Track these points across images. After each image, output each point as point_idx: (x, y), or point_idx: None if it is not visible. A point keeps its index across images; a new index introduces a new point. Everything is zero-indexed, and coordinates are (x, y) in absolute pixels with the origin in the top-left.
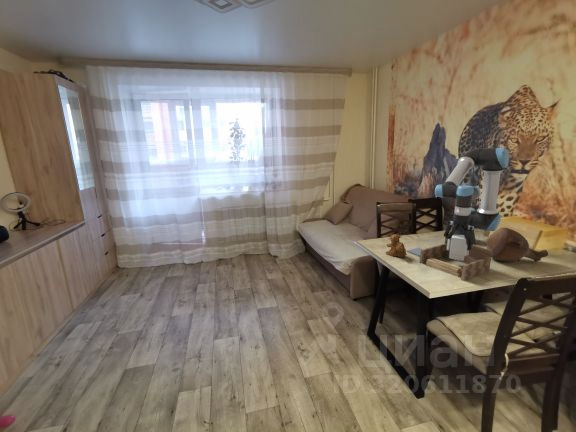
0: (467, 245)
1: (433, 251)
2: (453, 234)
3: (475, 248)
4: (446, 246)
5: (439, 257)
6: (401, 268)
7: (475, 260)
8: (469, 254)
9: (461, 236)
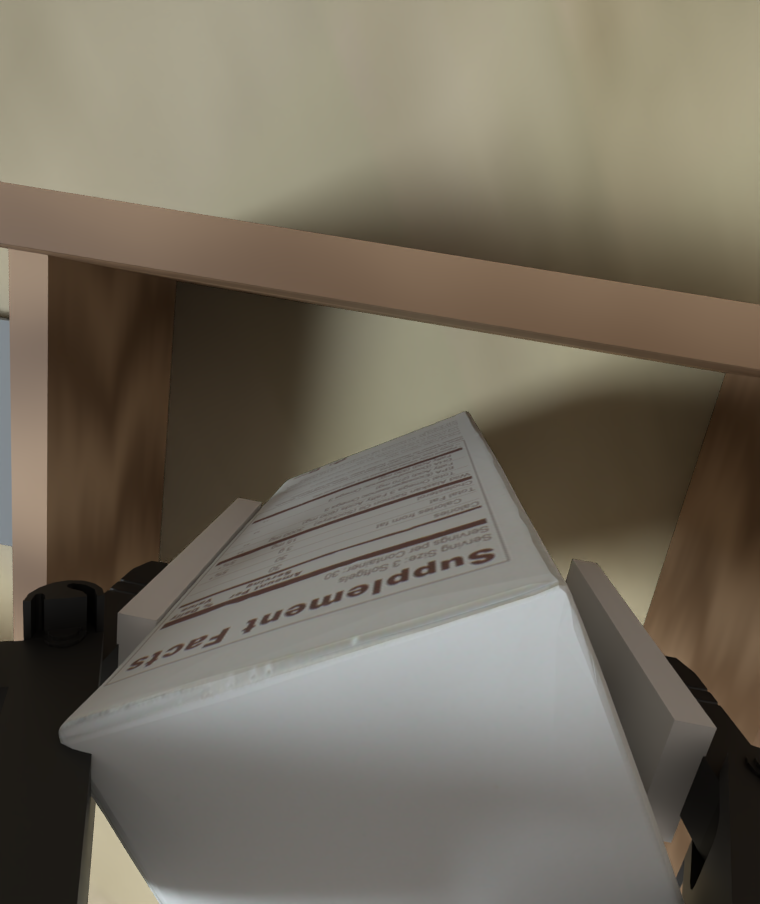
0: (667, 804)
1: (93, 570)
2: (106, 769)
3: (693, 360)
4: (89, 264)
5: (166, 395)
6: (126, 898)
7: (620, 353)
8: (530, 337)
9: (448, 854)
